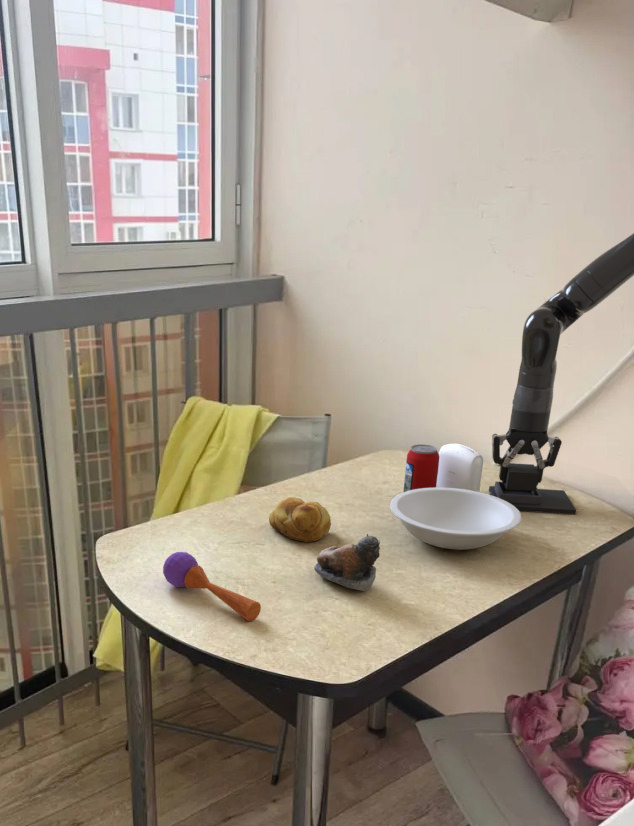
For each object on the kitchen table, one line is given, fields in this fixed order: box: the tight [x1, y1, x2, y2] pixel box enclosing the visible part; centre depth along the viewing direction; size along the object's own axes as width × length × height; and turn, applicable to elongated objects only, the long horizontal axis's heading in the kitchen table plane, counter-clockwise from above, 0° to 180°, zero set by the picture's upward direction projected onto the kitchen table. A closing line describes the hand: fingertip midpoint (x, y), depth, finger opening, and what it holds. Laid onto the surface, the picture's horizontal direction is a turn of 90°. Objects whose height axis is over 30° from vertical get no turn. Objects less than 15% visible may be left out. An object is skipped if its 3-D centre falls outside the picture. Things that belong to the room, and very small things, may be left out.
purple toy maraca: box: [162, 551, 262, 622], centre depth 126 cm, size 6×6×20 cm
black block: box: [504, 462, 539, 491], centre depth 166 cm, size 6×6×4 cm
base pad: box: [488, 481, 577, 515], centre depth 167 cm, size 16×12×3 cm
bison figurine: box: [313, 533, 381, 592], centre depth 130 cm, size 12×7×10 cm, turn 44°
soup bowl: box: [389, 487, 522, 551], centre depth 147 cm, size 24×24×7 cm
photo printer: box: [436, 443, 484, 492], centre depth 166 cm, size 10×4×12 cm, turn 32°
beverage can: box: [402, 444, 440, 493], centre depth 165 cm, size 7×7×12 cm
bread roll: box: [268, 496, 332, 543], centre depth 150 cm, size 13×10×8 cm
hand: (519, 482), depth 166 cm, fingers closed on black block, 6 cm apart
